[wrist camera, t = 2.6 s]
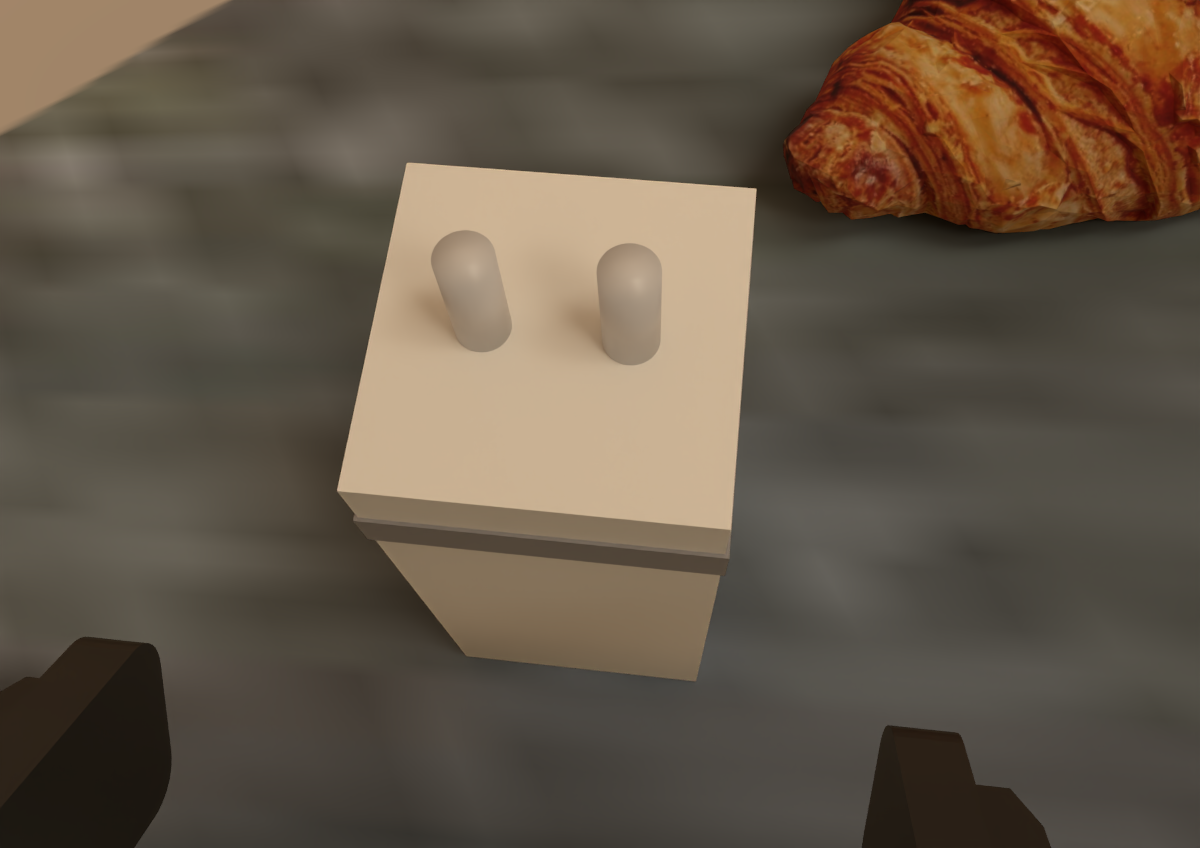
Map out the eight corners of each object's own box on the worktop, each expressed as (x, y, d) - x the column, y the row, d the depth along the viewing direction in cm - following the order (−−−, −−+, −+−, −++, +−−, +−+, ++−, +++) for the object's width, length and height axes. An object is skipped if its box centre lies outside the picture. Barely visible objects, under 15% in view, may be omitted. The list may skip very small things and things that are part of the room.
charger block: (716, 461, 24) (773, 105, 13) (698, 684, 22) (746, 487, 11) (498, 441, 24) (376, 77, 13) (463, 658, 22) (290, 443, 11)
